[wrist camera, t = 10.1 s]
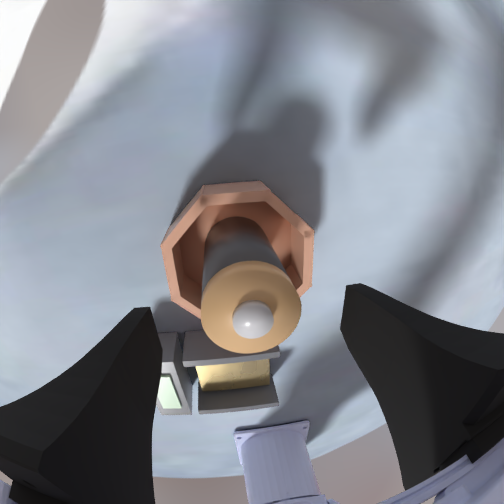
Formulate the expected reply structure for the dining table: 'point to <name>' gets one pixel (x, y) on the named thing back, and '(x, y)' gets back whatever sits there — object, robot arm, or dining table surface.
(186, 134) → the dining table surface
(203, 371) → the plunger
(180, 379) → the battery checker
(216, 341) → the cell
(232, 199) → the cup
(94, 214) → the dining table surface
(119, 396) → the robot arm
